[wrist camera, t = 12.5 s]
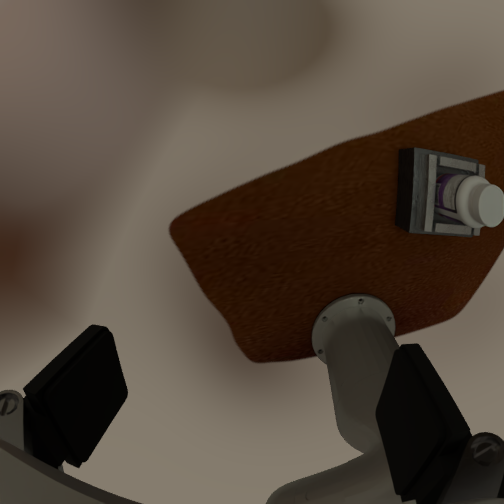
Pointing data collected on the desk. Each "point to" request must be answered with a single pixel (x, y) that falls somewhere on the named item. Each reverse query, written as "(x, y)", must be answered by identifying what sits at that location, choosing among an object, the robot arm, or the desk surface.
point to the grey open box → (429, 190)
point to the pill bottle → (468, 200)
